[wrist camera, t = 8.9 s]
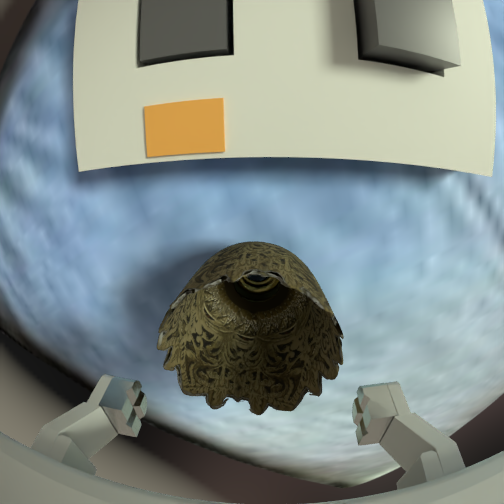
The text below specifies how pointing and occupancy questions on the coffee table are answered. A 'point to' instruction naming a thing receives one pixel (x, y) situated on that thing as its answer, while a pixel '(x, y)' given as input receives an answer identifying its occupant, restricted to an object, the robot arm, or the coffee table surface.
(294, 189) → the coffee table surface
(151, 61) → the block
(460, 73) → the panel
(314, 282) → the brown textured goblet
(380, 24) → the block
